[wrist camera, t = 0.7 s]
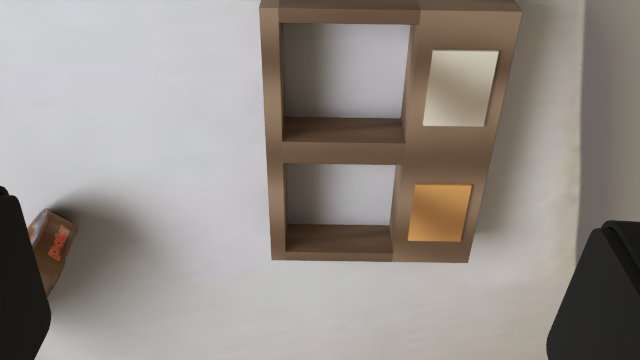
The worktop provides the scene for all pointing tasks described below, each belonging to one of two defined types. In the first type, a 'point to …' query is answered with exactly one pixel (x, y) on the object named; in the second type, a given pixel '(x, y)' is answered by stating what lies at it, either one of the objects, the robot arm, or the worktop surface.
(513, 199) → the worktop surface
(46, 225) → the tin
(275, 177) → the socket block
